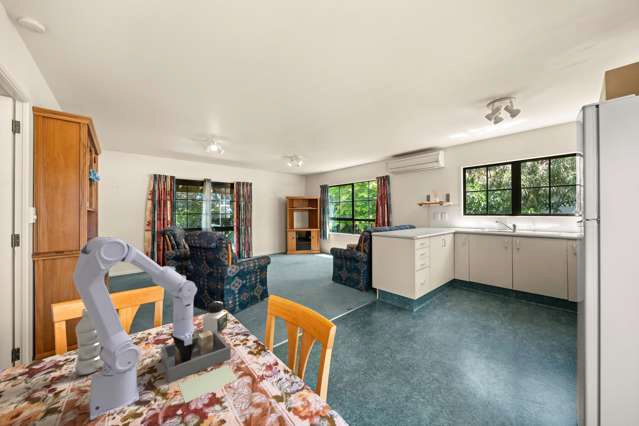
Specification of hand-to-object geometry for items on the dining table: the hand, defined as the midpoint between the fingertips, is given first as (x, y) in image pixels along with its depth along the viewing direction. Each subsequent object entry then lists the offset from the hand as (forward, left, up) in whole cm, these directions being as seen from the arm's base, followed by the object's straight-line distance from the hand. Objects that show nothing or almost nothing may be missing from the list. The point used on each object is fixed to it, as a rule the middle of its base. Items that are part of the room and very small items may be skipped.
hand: (183, 358), depth 78 cm
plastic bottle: (-23, +17, -3) cm, 29 cm away
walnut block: (0, 0, -2) cm, 2 cm away
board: (+4, -14, -3) cm, 15 cm away
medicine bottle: (+16, +19, -3) cm, 25 cm away
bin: (+4, +1, -3) cm, 5 cm away
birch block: (+8, +4, -2) cm, 9 cm away
